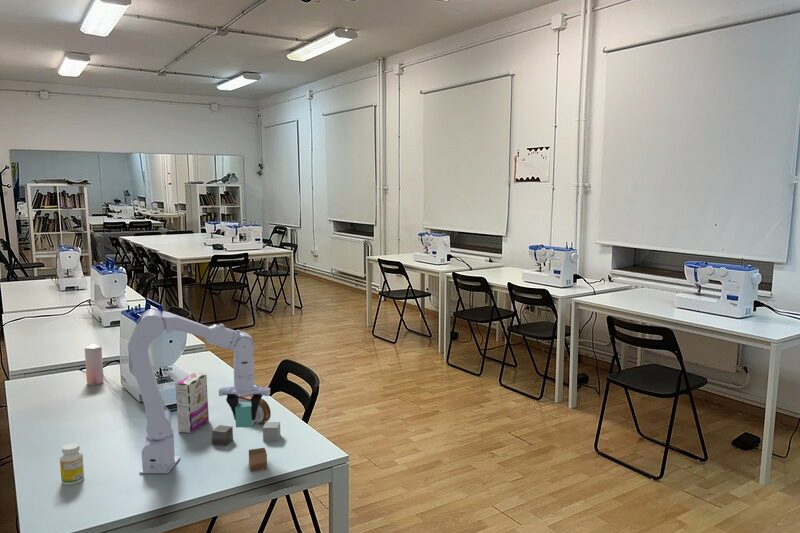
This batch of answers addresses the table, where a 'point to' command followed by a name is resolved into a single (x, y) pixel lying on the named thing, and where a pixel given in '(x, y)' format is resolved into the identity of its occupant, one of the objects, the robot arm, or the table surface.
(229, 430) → the charcoal block
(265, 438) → the slate-grey block
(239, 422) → the teal block
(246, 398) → the tin
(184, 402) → the candy bar box
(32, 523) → the table surface
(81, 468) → the supplement bottle
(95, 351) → the beverage can
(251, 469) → the walnut block
